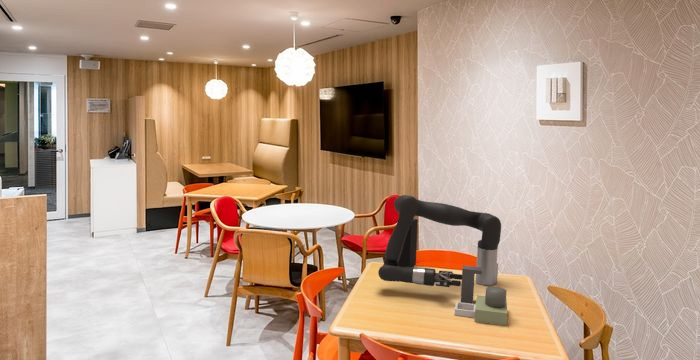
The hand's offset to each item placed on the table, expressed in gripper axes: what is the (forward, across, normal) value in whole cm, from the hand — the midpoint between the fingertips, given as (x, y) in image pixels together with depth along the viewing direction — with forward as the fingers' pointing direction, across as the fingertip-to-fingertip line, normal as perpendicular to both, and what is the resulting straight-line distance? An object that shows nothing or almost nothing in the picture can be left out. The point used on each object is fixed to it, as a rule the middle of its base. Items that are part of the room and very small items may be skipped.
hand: (461, 280), depth 221 cm
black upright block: (-31, +40, +9) cm, 52 cm away
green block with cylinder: (+9, -13, +9) cm, 18 cm away
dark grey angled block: (+4, 0, +9) cm, 10 cm away
